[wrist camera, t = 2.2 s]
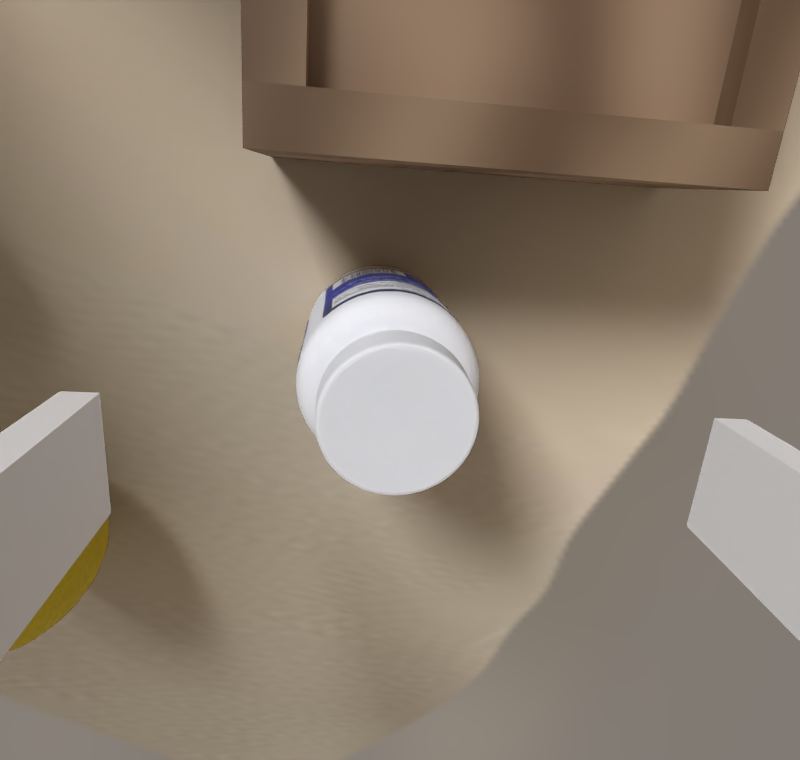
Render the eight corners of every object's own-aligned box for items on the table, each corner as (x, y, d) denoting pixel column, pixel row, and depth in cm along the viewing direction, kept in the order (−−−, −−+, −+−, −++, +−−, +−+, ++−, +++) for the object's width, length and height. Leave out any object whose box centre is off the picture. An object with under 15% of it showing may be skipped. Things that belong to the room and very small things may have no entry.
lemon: (-16, 531, 23) (-188, 699, 16) (-1, 408, 22) (-183, 530, 14) (126, 559, 24) (28, 730, 17) (150, 444, 23) (53, 575, 15)
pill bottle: (404, 418, 23) (437, 551, 15) (284, 362, 22) (247, 472, 14) (470, 303, 22) (547, 378, 14) (347, 236, 21) (349, 274, 12)
